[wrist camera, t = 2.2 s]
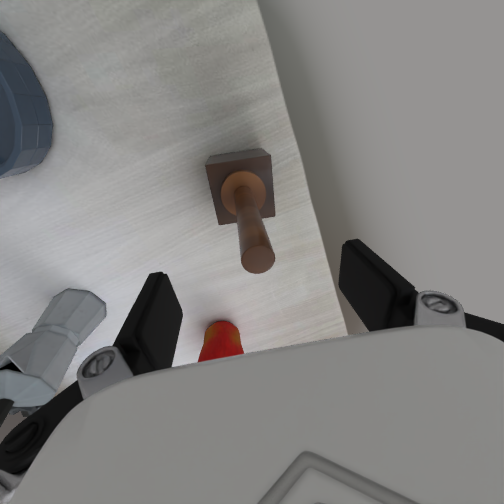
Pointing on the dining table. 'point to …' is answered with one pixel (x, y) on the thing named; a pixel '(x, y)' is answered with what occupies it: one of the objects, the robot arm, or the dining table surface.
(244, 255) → the wooden plunger
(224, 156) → the rest
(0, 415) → the coffee maker
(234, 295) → the dining table surface
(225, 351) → the apple
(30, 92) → the bowl
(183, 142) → the dining table surface
